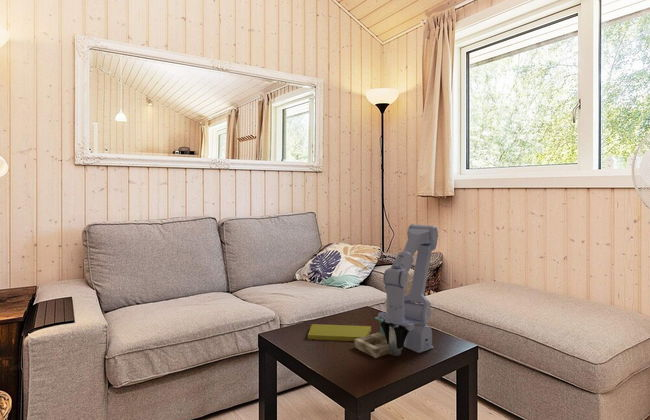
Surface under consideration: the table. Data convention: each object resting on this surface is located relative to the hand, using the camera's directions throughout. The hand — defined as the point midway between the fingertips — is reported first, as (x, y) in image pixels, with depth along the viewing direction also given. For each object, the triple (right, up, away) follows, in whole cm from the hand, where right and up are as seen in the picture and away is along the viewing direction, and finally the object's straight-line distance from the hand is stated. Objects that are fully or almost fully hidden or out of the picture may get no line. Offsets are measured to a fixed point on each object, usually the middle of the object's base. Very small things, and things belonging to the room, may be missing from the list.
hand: (395, 345), depth 131 cm
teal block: (0, -1, +13) cm, 14 cm away
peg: (0, -3, 0) cm, 2 cm away
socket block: (-4, -5, +11) cm, 13 cm away
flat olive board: (-17, -5, +24) cm, 30 cm away
